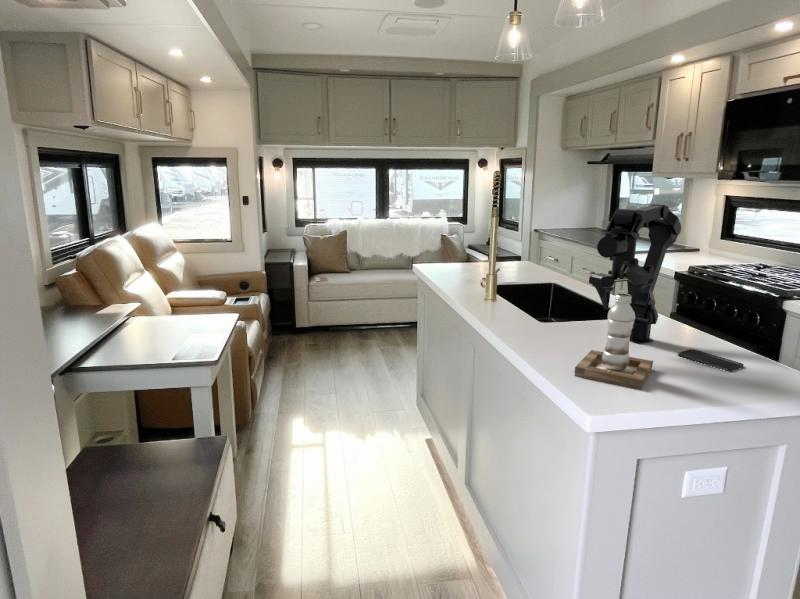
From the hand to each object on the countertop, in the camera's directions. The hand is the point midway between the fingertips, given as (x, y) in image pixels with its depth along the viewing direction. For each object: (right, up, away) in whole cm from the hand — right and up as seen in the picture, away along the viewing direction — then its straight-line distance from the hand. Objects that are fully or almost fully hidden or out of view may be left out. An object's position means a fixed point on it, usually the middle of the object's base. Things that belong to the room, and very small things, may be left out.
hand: (618, 307), depth 157 cm
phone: (+23, -15, -6) cm, 28 cm away
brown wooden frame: (-7, -17, -14) cm, 23 cm away
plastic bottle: (-7, -16, -14) cm, 23 cm away
